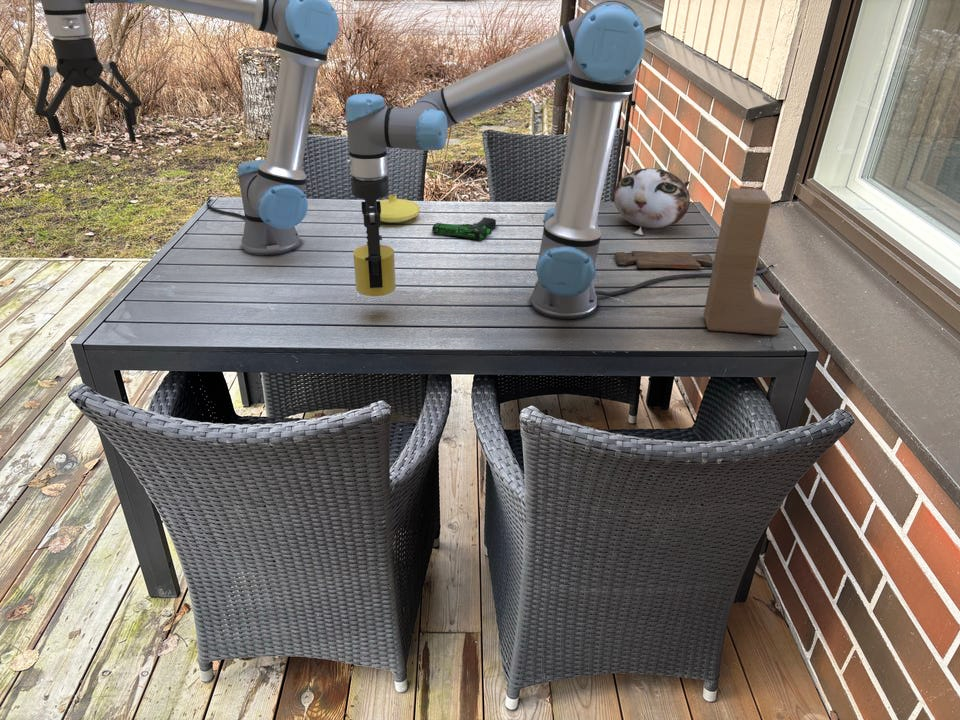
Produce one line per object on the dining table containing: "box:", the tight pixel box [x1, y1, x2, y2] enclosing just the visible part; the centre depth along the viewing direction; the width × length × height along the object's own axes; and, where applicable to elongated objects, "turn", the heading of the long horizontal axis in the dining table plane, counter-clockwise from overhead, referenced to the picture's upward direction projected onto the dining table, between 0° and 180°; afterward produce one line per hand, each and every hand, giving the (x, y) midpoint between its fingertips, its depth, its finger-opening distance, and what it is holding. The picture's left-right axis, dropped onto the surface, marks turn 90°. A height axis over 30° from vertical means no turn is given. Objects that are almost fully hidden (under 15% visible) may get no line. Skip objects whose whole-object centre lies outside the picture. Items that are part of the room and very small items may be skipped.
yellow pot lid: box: [379, 194, 420, 224], centre depth 215 cm, size 16×16×7 cm
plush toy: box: [613, 167, 691, 236], centre depth 209 cm, size 22×18×20 cm
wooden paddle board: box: [614, 250, 714, 270], centre depth 190 cm, size 26×2×10 cm
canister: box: [352, 244, 397, 297], centre depth 155 cm, size 9×9×8 cm
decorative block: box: [703, 187, 785, 336], centre depth 152 cm, size 8×15×30 cm, turn 82°
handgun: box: [431, 217, 497, 241], centre depth 208 cm, size 16×3×15 cm
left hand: (99, 144), depth 154 cm, fingers open, 13 cm apart
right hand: (375, 277), depth 156 cm, fingers closed on canister, 9 cm apart
